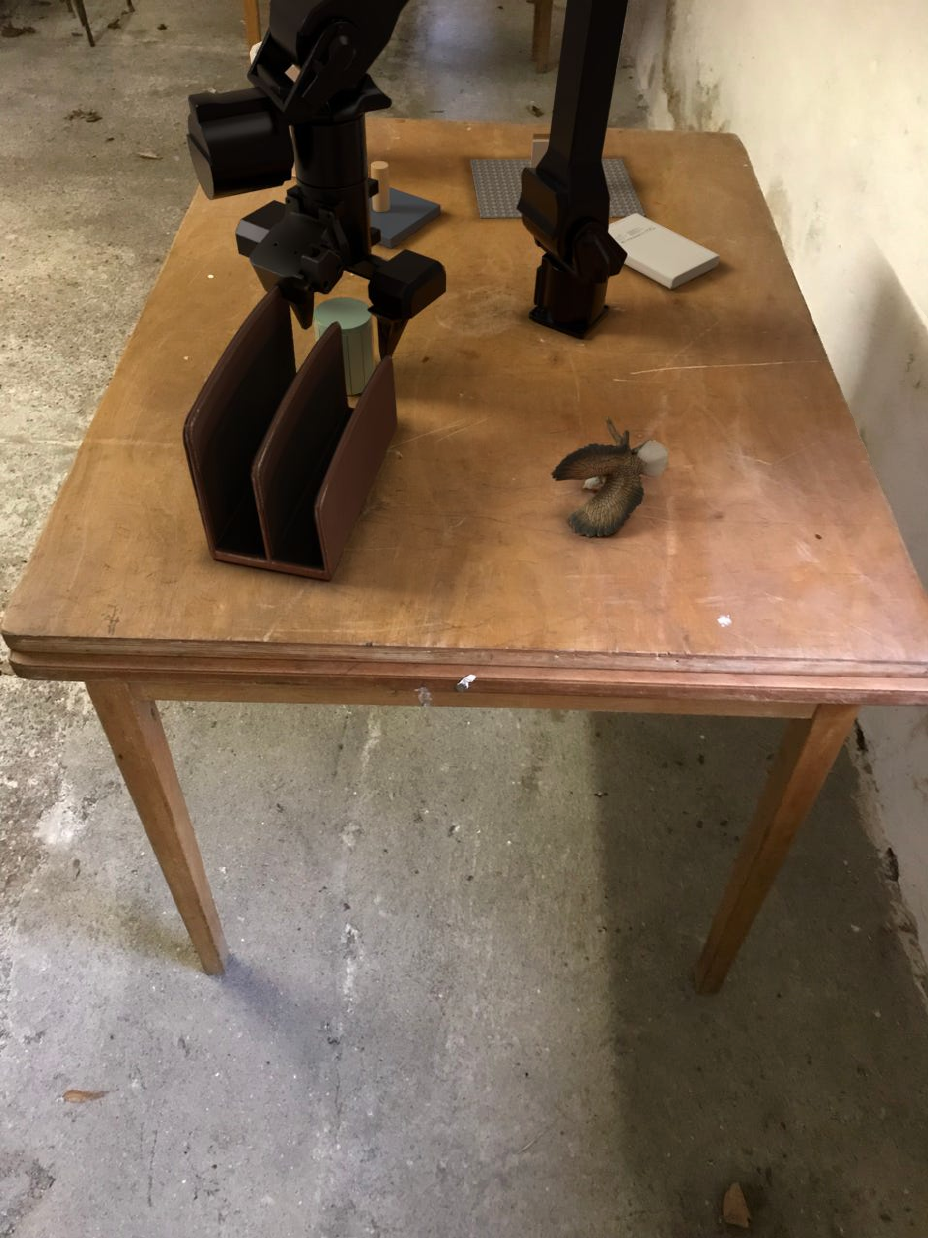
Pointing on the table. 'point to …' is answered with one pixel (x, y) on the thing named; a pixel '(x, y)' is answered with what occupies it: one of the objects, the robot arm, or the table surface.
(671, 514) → the table surface
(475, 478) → the table surface
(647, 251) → the hard drive
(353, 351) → the mint canister
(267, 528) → the letter holder
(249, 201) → the table surface
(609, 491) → the eagle figurine
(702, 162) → the table surface
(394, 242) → the cup stand
